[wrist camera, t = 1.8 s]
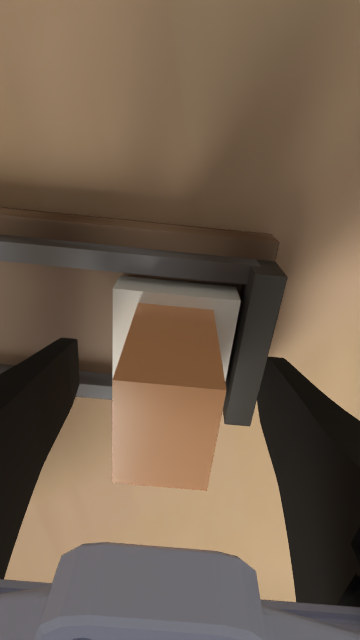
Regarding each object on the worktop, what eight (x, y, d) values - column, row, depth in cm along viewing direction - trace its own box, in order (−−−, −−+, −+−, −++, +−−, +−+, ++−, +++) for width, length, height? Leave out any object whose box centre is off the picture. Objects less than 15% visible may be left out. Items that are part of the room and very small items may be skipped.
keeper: (118, 371, 17) (80, 490, 11) (119, 275, 14) (72, 360, 8) (219, 380, 17) (235, 503, 11) (236, 286, 14) (268, 378, 9)
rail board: (-117, 360, 19) (-178, 402, 16) (-180, 189, 15) (-279, 199, 12) (237, 392, 19) (247, 438, 16) (271, 234, 15) (292, 255, 12)
